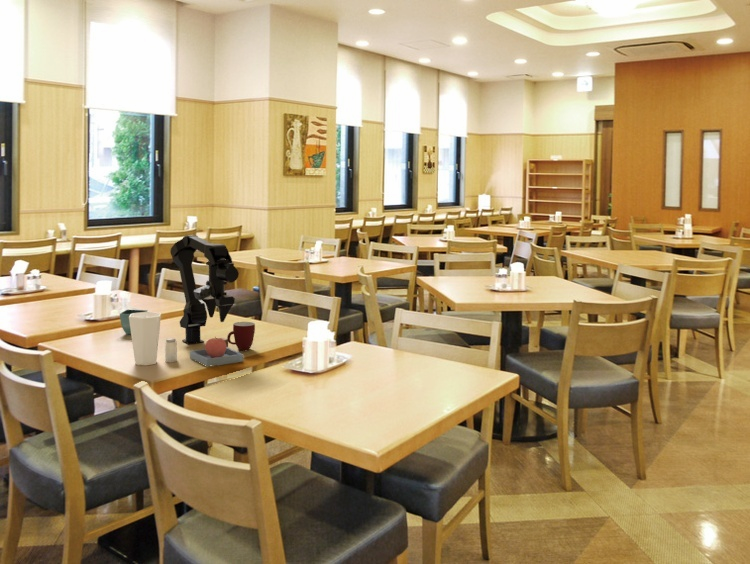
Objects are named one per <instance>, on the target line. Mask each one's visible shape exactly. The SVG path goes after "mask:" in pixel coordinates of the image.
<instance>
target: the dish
mask: <svg viewBox="0 0 750 564" xmlns="http://www.w3.org/2000/svg"><path fill="white" fill-rule="evenodd" d="M191 358H192V359H191ZM189 359H191V360H193V359H194V360H196V361H198V362H200V363H202V364H204V365H206V366H210V365H217V366H222V365H228V364H236V363H242V362H244V354H243V353H241V352H240V351H237V350H234V349H232V348H230V347H229V346H228V347H226V351H225V353H224V355H223V356H222V357H216V358H211V357H210V356H209V355H208V354H207V352H206V349H205V348H202V349H201V348H200V349H194V350H189ZM194 360H193V361H194ZM196 361H195V362H196ZM198 362H197V363H198ZM200 363H199V364H200ZM202 364H201V365H202ZM204 365H203V366H204ZM206 366H205V367H206ZM210 367H211V366H210Z"/></svg>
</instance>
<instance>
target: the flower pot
mask: <svg viewBox="0 0 750 564" xmlns="http://www.w3.org/2000/svg"><path fill="white" fill-rule="evenodd" d="M140 312H149V310H148V309H147V310H146V309H144V310H143V309H125V310H124V311H122V312H120V313H119V319H120V325H121V328H122V330H123V332H124V333H125V334H126V335H131V329H130V322H129V316H130V314H132V313H140Z"/></svg>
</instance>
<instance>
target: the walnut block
mask: <svg viewBox="0 0 750 564" xmlns="http://www.w3.org/2000/svg"><path fill="white" fill-rule="evenodd" d="M220 338H221V339H223V340H224V341H225V342H226V346H227V347H228V348H229V342H228V340H227V338H225V337H220Z"/></svg>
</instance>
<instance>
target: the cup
mask: <svg viewBox="0 0 750 564" xmlns="http://www.w3.org/2000/svg"><path fill="white" fill-rule="evenodd" d="M161 317H162V313H161V312H155V311H154V312H153V311H148V312H140V313H132V314H130V316H129V322H130V329H131V334H130V337H131V342H132V350H133V356H134V363H135V365H136V366H150V365H155V364H157V360H158V351H159V348H158V347H159V340H160V330H161V320H162V319H161Z"/></svg>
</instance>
